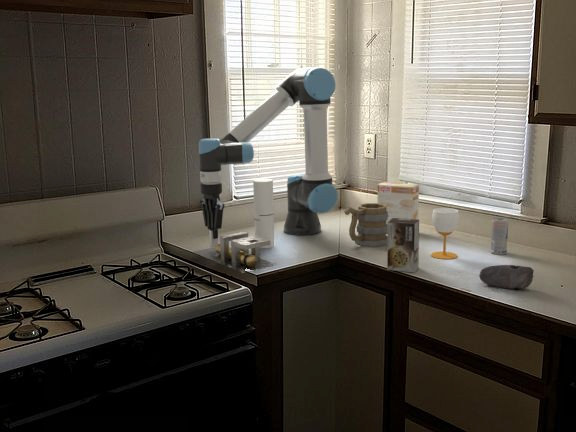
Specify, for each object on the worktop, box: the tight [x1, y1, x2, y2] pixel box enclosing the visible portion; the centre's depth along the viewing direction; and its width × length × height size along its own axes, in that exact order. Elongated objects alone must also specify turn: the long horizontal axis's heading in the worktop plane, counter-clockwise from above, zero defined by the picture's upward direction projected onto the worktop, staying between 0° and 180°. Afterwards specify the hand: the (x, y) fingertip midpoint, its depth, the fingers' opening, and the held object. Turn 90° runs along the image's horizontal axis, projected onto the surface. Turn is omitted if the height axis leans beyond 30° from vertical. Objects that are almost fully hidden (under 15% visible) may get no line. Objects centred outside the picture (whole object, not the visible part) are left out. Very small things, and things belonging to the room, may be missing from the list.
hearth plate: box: [193, 247, 278, 274], centre depth 222 cm, size 14×33×1 cm, turn 37°
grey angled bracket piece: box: [219, 231, 250, 262], centre depth 220 cm, size 10×2×8 cm, turn 128°
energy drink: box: [490, 217, 509, 256], centre depth 222 cm, size 5×5×12 cm
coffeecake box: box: [376, 181, 420, 234], centre depth 253 cm, size 15×7×20 cm, turn 58°
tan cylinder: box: [216, 243, 257, 267], centre depth 218 cm, size 20×4×4 cm, turn 37°
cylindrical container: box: [252, 178, 275, 249], centre depth 235 cm, size 7×7×25 cm
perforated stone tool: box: [478, 264, 535, 290], centre depth 187 cm, size 15×5×7 cm, turn 61°
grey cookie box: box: [386, 218, 420, 273], centre depth 206 cm, size 9×6×16 cm
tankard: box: [344, 202, 388, 247], centre depth 238 cm, size 20×13×15 cm, turn 124°
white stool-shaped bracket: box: [230, 235, 270, 267], centre depth 212 cm, size 10×8×8 cm
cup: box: [430, 207, 460, 260], centre depth 220 cm, size 9×9×16 cm
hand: (214, 246), depth 231 cm, fingers closed
